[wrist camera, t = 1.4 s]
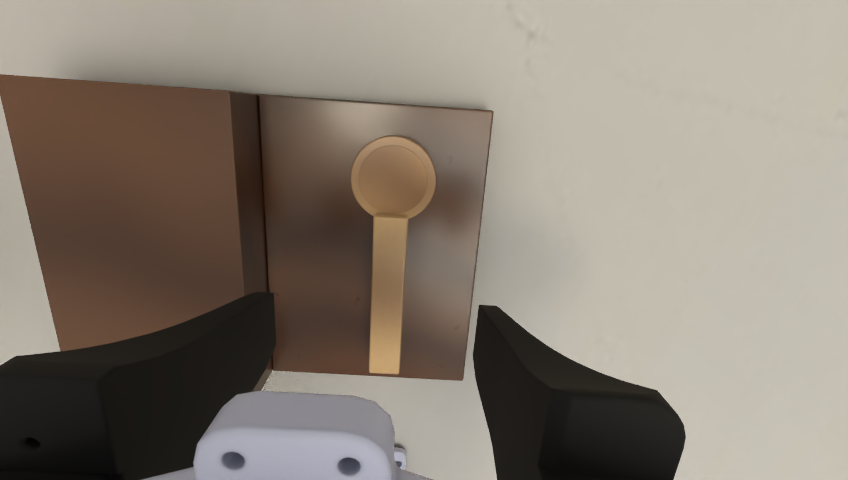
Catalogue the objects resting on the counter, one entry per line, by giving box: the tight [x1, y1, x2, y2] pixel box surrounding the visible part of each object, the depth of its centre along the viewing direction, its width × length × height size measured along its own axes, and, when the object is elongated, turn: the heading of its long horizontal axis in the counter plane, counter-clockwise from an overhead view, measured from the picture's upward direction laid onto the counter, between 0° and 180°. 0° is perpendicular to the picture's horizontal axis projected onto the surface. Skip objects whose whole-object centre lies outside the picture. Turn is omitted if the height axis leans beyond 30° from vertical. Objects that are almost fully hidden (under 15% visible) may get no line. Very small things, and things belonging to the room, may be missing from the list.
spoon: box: [350, 135, 436, 374], centre depth 20 cm, size 12×4×2 cm, turn 176°
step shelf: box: [0, 75, 493, 392], centre depth 20 cm, size 15×20×4 cm
